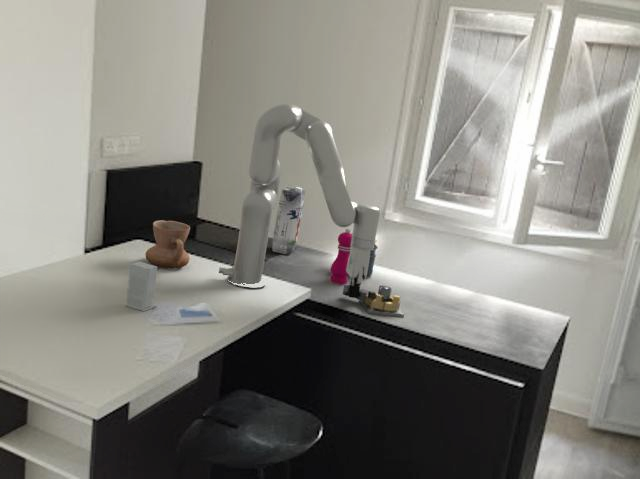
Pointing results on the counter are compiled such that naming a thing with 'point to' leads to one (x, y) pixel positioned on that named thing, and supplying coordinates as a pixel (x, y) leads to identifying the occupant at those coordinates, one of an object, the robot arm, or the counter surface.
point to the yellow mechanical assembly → (376, 299)
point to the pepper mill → (341, 259)
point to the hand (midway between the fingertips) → (352, 296)
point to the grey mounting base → (386, 292)
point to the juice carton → (288, 220)
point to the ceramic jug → (169, 245)
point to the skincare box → (141, 286)
